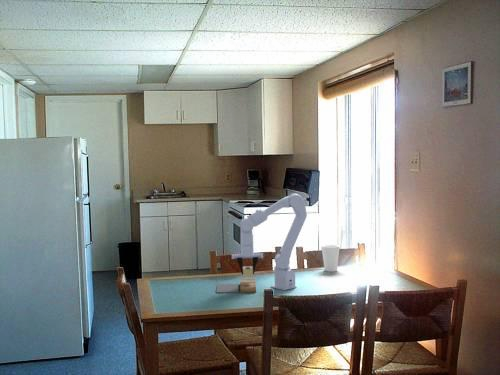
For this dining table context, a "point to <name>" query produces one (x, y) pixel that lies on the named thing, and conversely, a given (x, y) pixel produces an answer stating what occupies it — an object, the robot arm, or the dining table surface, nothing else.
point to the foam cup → (330, 256)
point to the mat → (227, 288)
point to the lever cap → (247, 271)
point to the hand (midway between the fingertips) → (247, 273)
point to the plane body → (247, 286)
